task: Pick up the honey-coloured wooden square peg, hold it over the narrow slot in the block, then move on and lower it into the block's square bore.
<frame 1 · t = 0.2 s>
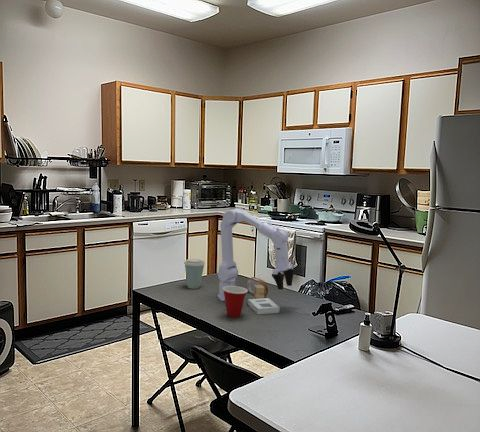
hand: (285, 287, 196), 11 cm above the table, tool pointing down, fingers open, 7 cm apart
socket block: (263, 308, 199), on the table
square peg: (258, 300, 211), on the table
disposable coffee cup: (194, 287, 231), on the table
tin: (256, 295, 220), on the table
plastic cup: (234, 315, 189), on the table
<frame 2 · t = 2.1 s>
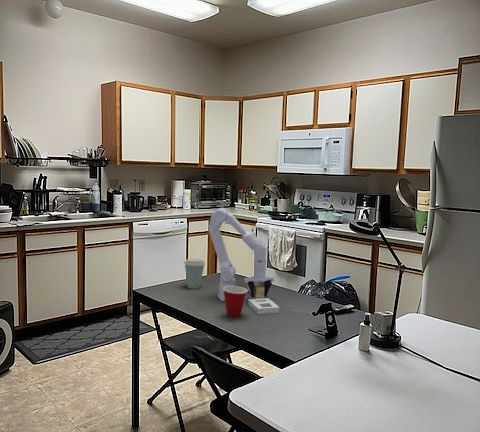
hand: (259, 296, 211), 2 cm above the table, tool pointing down, fingers open, 6 cm apart
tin: (256, 295, 220), on the table, touching gripper
everything else where it was.
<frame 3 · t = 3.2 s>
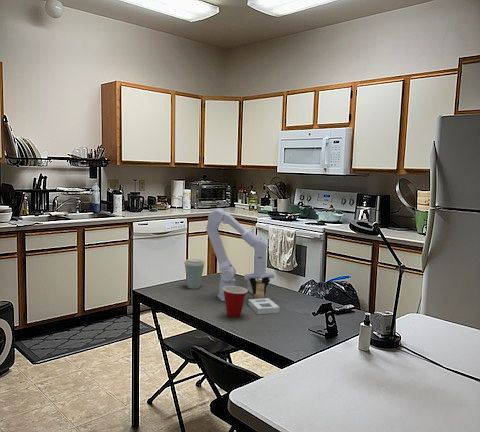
hand: (258, 293, 211), 4 cm above the table, tool pointing down, fingers closed on square peg, 4 cm apart
square peg: (258, 297, 211), point 2 cm above the table, touching gripper
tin: (255, 295, 220), on the table
everything else where it was.
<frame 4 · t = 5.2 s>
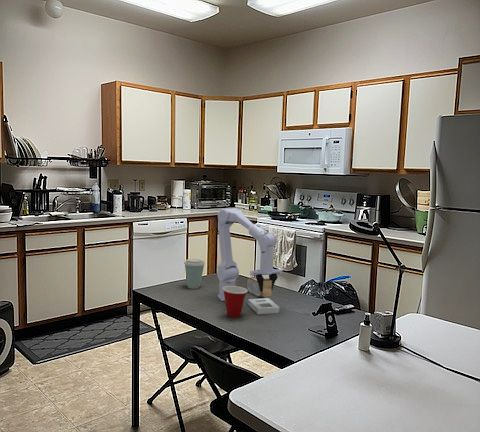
hand: (265, 290, 196), 9 cm above the table, tool pointing down, fingers closed on square peg, 4 cm apart
square peg: (265, 295, 196), point 7 cm above the table, touching gripper
everything else where it was.
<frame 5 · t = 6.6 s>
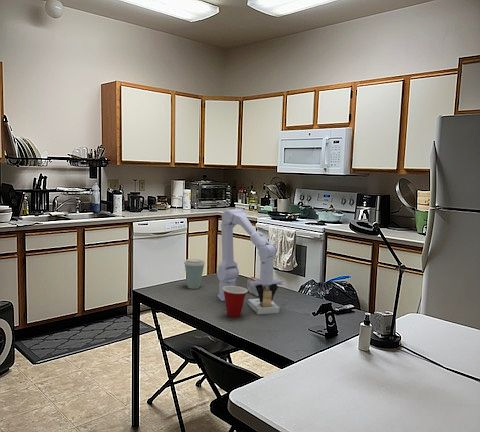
hand: (265, 301, 196), 4 cm above the table, tool pointing down, fingers closed on square peg, 4 cm apart
square peg: (265, 305, 196), point 2 cm above the table, touching gripper
everything else where it was.
when the fingers open (4 cm above the table, at t = 7.6 s): square peg drops 2 cm, resting in socket block.
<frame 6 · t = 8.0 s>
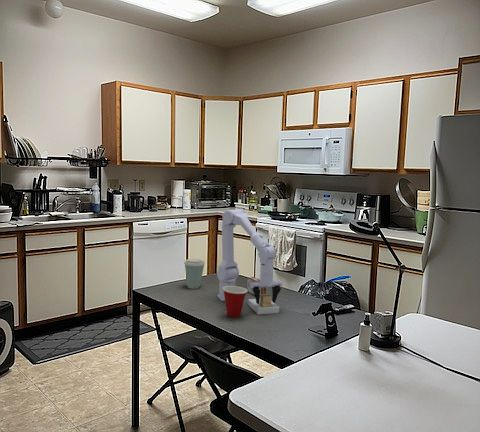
hand: (265, 302, 196), 4 cm above the table, tool pointing down, fingers open, 7 cm apart
square peg: (265, 310, 197), resting in socket block
everything else where it was.
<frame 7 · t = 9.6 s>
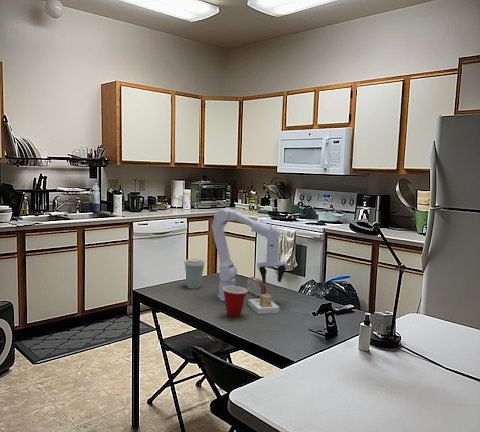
hand: (271, 282, 206), 10 cm above the table, tool pointing down, fingers open, 7 cm apart
nothing on the table moved.
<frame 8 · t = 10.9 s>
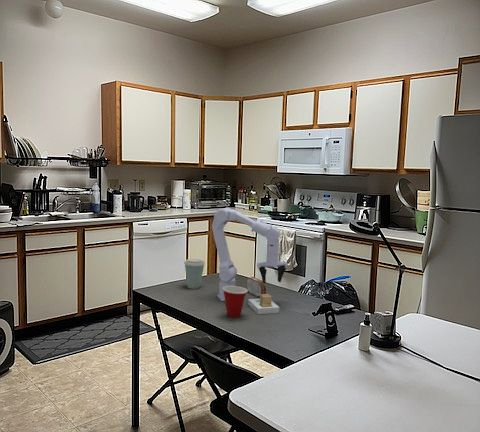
hand: (271, 282, 206), 10 cm above the table, tool pointing down, fingers open, 7 cm apart
nothing on the table moved.
at the end: square peg 0.2 cm from the target spot on the socket block, point 0.0 cm above the socket block's base; square peg tilted 0°; the gripper is holding nothing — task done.
